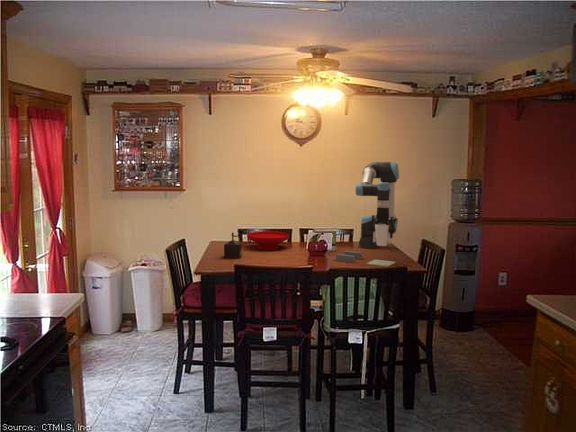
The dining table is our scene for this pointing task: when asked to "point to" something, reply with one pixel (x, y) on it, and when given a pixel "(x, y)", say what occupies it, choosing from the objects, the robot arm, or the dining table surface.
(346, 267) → the dining table surface
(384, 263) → the pad
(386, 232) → the foam cup
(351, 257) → the clamp
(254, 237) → the bowl
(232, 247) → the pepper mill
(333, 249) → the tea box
